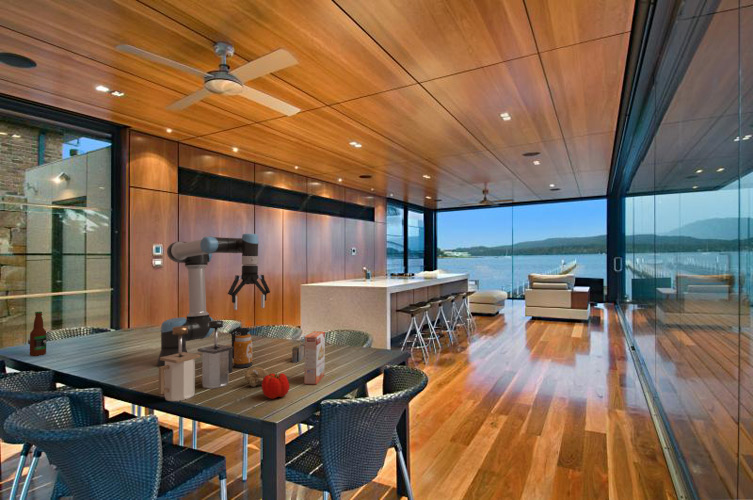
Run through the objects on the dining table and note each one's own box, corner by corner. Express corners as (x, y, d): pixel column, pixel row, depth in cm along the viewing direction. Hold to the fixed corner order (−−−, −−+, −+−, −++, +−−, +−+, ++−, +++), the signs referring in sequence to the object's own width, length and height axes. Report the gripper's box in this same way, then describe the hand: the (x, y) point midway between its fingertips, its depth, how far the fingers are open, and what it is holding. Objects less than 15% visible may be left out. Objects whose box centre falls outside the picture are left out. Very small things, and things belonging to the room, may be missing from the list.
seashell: (258, 378, 182) (258, 361, 182) (275, 379, 180) (275, 362, 181) (242, 388, 169) (242, 369, 169) (260, 389, 167) (260, 370, 167)
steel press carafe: (197, 386, 172) (197, 349, 172) (223, 378, 183) (223, 343, 184) (213, 390, 166) (213, 351, 167) (239, 381, 178) (239, 345, 179)
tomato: (256, 399, 155) (256, 377, 155) (273, 391, 165) (273, 369, 165) (279, 403, 151) (279, 380, 151) (295, 394, 161) (295, 372, 161)
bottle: (38, 356, 227) (39, 312, 228) (26, 356, 227) (26, 312, 228) (49, 353, 234) (50, 311, 235) (37, 353, 234) (37, 311, 235)
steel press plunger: (203, 358, 172) (203, 321, 173) (217, 355, 179) (217, 319, 179) (214, 360, 169) (214, 322, 169) (228, 357, 175) (228, 320, 176)
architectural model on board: (297, 363, 210) (297, 345, 211) (292, 363, 211) (292, 344, 211) (306, 358, 221) (306, 340, 222) (301, 358, 222) (301, 340, 222)
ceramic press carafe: (151, 401, 154) (151, 359, 154) (183, 390, 166) (183, 352, 166) (168, 405, 149) (168, 362, 149) (199, 394, 161) (200, 354, 161)
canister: (246, 369, 198) (246, 328, 199) (226, 368, 201) (226, 328, 201) (255, 364, 207) (255, 325, 208) (236, 363, 209) (236, 325, 210)
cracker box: (317, 385, 172) (317, 336, 173) (303, 384, 173) (303, 336, 174) (325, 375, 186) (325, 330, 187) (313, 375, 187) (312, 330, 188)
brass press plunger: (166, 368, 158) (166, 327, 158) (182, 364, 164) (182, 325, 164) (177, 370, 154) (177, 329, 154) (194, 366, 160) (194, 326, 161)
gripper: (226, 265, 185) (225, 311, 184) (277, 265, 200) (276, 307, 200) (221, 265, 191) (220, 309, 190) (271, 264, 206) (270, 305, 206)
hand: (249, 308), depth 195 cm, fingers open, 13 cm apart
